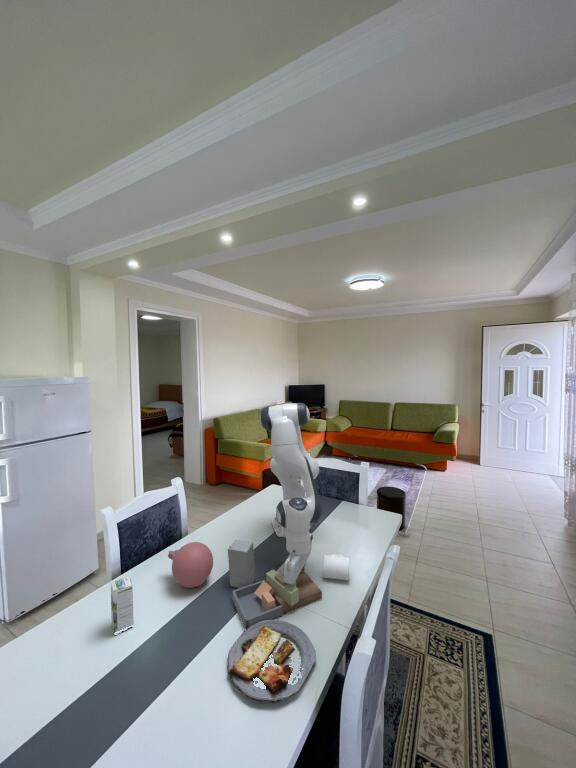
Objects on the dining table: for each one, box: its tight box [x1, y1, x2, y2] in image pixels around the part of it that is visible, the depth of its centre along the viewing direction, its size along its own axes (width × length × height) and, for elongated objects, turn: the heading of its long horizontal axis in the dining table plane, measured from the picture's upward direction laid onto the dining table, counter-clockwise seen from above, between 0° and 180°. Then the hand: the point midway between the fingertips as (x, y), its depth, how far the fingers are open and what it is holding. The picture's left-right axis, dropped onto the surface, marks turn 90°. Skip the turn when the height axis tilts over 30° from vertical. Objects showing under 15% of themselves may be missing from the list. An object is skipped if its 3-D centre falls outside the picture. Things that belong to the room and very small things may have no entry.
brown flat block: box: [272, 570, 323, 616], centre depth 117 cm, size 14×16×3 cm
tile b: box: [262, 591, 275, 611], centre depth 109 cm, size 5×5×2 cm
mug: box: [322, 553, 350, 582], centre depth 128 cm, size 12×10×8 cm
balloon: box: [167, 541, 214, 589], centre depth 124 cm, size 15×20×15 cm
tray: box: [231, 579, 283, 629], centre depth 110 cm, size 15×13×4 cm
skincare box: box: [227, 539, 257, 589], centre depth 122 cm, size 8×7×16 cm
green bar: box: [265, 568, 299, 606], centre depth 113 cm, size 14×4×6 cm, turn 41°
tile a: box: [254, 580, 275, 601], centre depth 114 cm, size 5×5×2 cm
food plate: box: [227, 619, 317, 703], centre depth 91 cm, size 25×23×4 cm
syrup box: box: [110, 576, 135, 634], centre depth 103 cm, size 6×6×14 cm
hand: (298, 579), depth 118 cm, fingers open, 8 cm apart
